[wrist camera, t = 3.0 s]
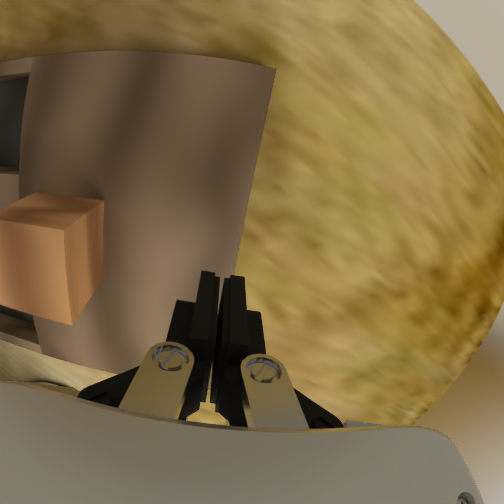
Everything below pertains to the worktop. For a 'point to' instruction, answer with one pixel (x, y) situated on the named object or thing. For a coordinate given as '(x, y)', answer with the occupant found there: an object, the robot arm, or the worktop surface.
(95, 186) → the track
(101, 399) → the robot arm
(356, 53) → the worktop surface
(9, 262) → the block
